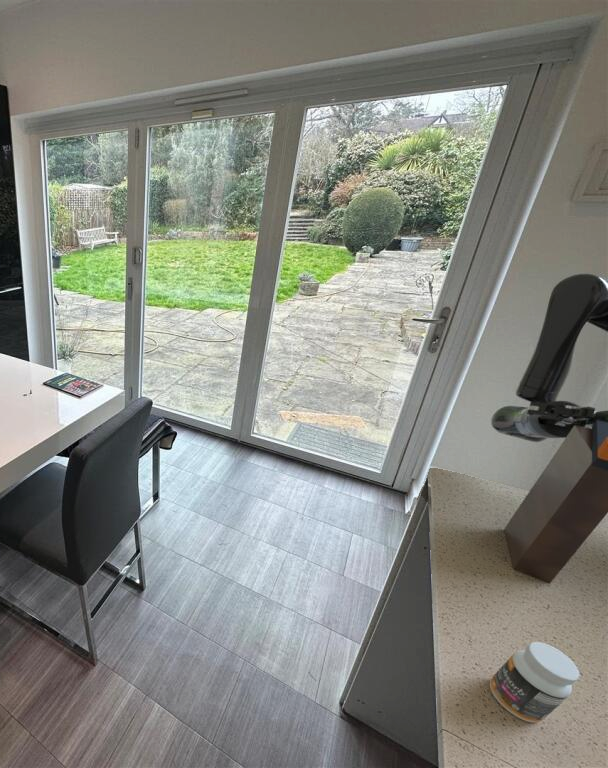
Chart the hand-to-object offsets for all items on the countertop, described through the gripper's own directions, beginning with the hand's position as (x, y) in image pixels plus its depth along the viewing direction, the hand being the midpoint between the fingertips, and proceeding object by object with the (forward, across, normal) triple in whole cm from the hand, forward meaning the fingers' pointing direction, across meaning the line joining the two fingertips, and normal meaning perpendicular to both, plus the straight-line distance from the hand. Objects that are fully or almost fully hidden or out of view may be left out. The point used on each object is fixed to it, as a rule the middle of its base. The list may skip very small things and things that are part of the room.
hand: (600, 414), depth 72 cm
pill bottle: (+22, -6, +46) cm, 52 cm away
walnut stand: (-8, 0, +28) cm, 29 cm away
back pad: (+7, 0, +6) cm, 9 cm away
